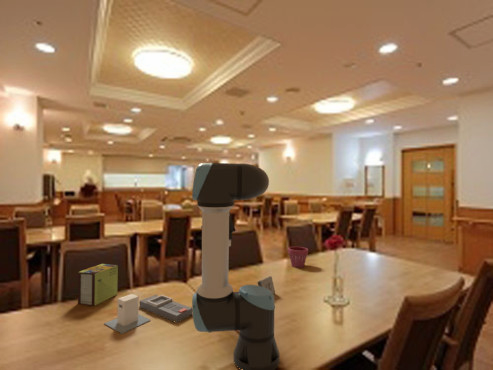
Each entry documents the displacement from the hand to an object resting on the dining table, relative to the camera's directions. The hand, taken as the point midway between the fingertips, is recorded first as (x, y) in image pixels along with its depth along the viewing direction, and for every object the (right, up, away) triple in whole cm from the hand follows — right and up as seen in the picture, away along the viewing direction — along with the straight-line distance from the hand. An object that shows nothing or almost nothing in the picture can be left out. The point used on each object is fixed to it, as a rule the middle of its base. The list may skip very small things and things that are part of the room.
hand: (217, 244), depth 134 cm
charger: (-36, -28, -20) cm, 49 cm away
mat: (-36, -28, -20) cm, 50 cm away
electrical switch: (+25, -29, +10) cm, 40 cm away
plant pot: (+52, -30, +65) cm, 88 cm away
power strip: (-23, -28, -9) cm, 38 cm away
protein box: (-61, -29, +4) cm, 68 cm away
